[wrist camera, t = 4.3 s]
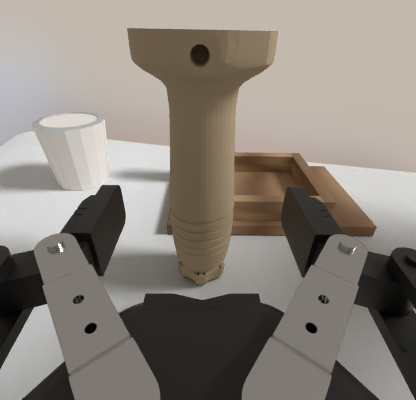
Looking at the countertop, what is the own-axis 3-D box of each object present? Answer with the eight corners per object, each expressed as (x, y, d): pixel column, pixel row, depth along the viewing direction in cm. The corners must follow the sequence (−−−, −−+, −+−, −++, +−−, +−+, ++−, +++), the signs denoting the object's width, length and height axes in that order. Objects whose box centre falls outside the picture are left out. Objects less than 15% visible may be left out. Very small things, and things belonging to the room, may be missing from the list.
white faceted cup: (115, 163, 35) (105, 109, 31) (115, 189, 29) (102, 126, 25) (58, 169, 33) (40, 112, 29) (46, 197, 28) (22, 132, 24)
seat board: (321, 173, 33) (340, 108, 29) (372, 235, 23) (412, 150, 19) (179, 172, 33) (176, 106, 29) (167, 234, 23) (160, 146, 19)
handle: (247, 298, 18) (289, 31, 9) (152, 295, 18) (111, 28, 10) (242, 248, 22) (267, 31, 13) (164, 245, 22) (143, 28, 14)
